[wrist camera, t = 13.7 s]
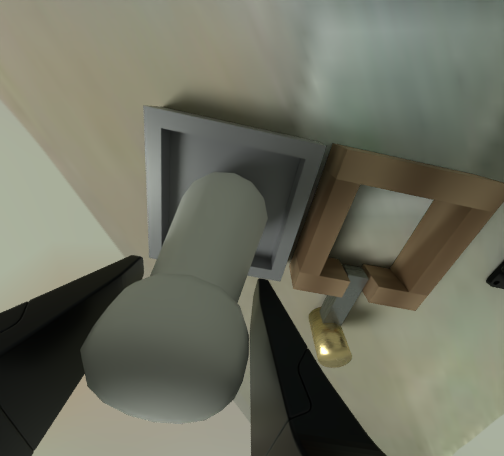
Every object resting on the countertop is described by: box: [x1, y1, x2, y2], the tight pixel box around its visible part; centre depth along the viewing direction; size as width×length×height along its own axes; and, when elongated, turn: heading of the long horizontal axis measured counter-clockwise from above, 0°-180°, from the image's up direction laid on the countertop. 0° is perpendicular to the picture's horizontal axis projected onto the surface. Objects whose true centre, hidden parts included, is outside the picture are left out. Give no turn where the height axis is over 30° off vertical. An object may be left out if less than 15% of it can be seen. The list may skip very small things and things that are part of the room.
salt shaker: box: [80, 172, 268, 424], centre depth 11 cm, size 6×6×13 cm
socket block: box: [289, 143, 504, 311], centre depth 17 cm, size 11×11×3 cm
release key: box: [309, 264, 369, 368], centre depth 20 cm, size 3×9×4 cm, turn 169°
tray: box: [143, 105, 327, 281], centre depth 16 cm, size 11×11×2 cm
